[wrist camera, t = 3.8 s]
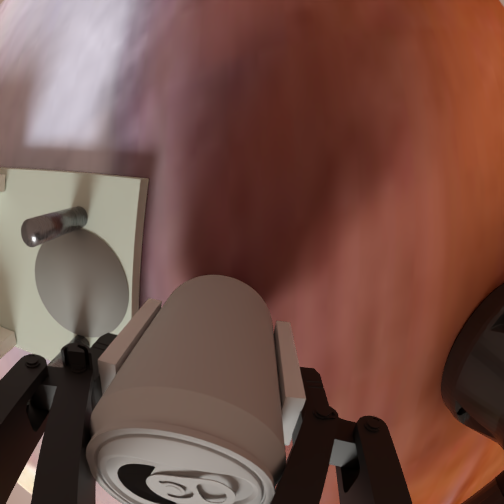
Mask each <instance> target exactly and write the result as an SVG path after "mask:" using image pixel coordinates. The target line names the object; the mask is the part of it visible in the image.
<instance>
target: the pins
mask: <svg viewBox="0 0 504 504" xmlns="http://www.w3.org/2000/svg"><path fill="white" fill-rule="evenodd" d="M87 221H88V215H87V212H86V210H85V209H84V208H83V207H81V206H76V207H72V208H68V209H64V210H60V211H56V212H52V213H48V214H44V215H40V216H37V217H33V218H29V219H26V220H25V221H24V222H23V224H22V226H21V236H22V239H23V241H24V243H25V244H26V245H27V246H29V247H35V246H38V245H40V244H43V243H45V242H48V241H50V240H53V239H55V238H58V237H60V236H63V235H65V234H68V233H70V232H73V231H76V230H78V229H81V228H83V227H84V226H85V225H86V224H87ZM70 343H81V344H85V345H87V346H88V347H89V348H90V344H89V341H88V340H87V339H86V338H85V337H84V336H80V335H76V336H75V337H74V338H73V339H72V340H71V341H70V342H69V343H68V344H70ZM47 366H52V367H63V362H62V356H61V351H60V352H59V354H58V355H57V356H56V357H55V358H54V359H53V360H52V361H51V362H50V363H49V364H48V365H47Z"/></svg>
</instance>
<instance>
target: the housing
mask: <svg viewBox="0 0 504 504" xmlns="http://www.w3.org/2000/svg"><path fill="white" fill-rule="evenodd" d="M5 177H6V174H0V192H4V191H5ZM15 345H17V343H16V338H15V333H14V332H13V331H11V330H8V329H6V328H3V327H1V326H0V359H1V358H2V357H3V356H4V355H5V354H6V353H7V352H9V351H10V350H11V349H12V348H13V347H14V346H15Z"/></svg>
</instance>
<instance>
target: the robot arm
mask: <svg viewBox="0 0 504 504" xmlns="http://www.w3.org/2000/svg"><path fill="white" fill-rule="evenodd" d="M161 303H162V301H160V300H155V299H150V298H149V299H148V300H147V301H146V302H145V303H144V305H143V306H142V307H141V308H140V309H139V310H138V312H137V313H136V314H135V315H134V316H133V317H132V319H131V320H130V321H129V322H128V323H127V325H126V326H125V327H124V328H123V329H122V331H121V332H120V333H119V334H118V335H116V334H112V333H106V334H104V335H102V336H100V337H99V338H98V340H97V341H96V342H95V343H94V344H93V345H92V347H90V348H89V347H88V346H87V345H85V344H81V343H70V344H67V345H65V346H63V347H62V349H61V356H62V362H63V367H52V366H47V363H46V360H45V358H44V357H42V356H40V355H36V354H29V355H26V356H24V357H22V358H21V359H20V360H19V361H18V362H17V363H16V364H15V365H14V366H13V367H12V368H11V369H10V370H9V372H8V373H7V374H6V375H5V376H4V377H3V378H2V379H1V380H0V504H6V502H7V500H8V498H9V496H10V494H11V491H12V490H13V488H14V486H15V484H16V482H17V480H18V478H19V476H20V474H21V473H22V471H23V469H24V467H25V465H26V463H27V462H28V460H29V458H30V456H31V454H32V453H33V451H34V449H35V447H36V445H37V444H38V442H39V440H40V439H41V437H42V435H43V433H44V436H43V440H42V445H41V449H40V454H39V459H38V464H37V469H36V475H35V481H34V487H33V494H32V501H31V504H95V483H96V480H95V478H94V477H93V475H92V473H91V471H90V467H89V464H88V461H87V458H86V448H87V445H88V444H89V442H90V440H91V436H90V418H91V414H92V412H93V410H94V408H95V406H96V405H97V403H98V402H99V400H100V399H101V397H102V396H103V394H104V392H105V391H106V389H107V388H108V386H109V385H110V383H111V382H112V380H113V379H114V377H115V376H116V374H117V373H118V371H119V370H120V368H121V367H122V365H123V364H124V362H125V361H126V359H127V358H128V356H129V355H130V353H131V352H132V350H133V349H134V347H135V346H136V344H137V343H138V341H139V340H140V338H141V337H142V335H143V334H144V333H145V331H146V330H147V328H148V327H149V325H150V324H151V322H152V321H153V319H154V318H155V317H156V315H157V314H158V312H159V311H160V309H161ZM274 343H275V353H276V362H277V372H278V382H279V392H280V402H281V412H282V422H283V433H284V443H285V445H289V444H290V441H291V439H292V440H293V446H292V449H291V451H290V454H289V456H288V459H287V461H286V466H285V469H284V471H283V474H282V476H281V478H280V480H279V482H278V484H277V486H276V489H275V494H274V496H273V498H272V500H271V502H270V504H319V502H320V499H321V495H322V491H323V487H324V483H325V479H326V475H327V471H328V467H329V464H331V465H335V466H336V473H337V482H338V490H339V499H340V504H412V501H411V498H410V494H409V491H408V488H407V484H406V481H405V478H404V475H403V472H402V468H401V465H400V462H399V459H398V456H397V453H396V450H395V447H394V444H393V441H392V438H391V436H390V433H389V430H388V427H387V425H386V424H385V422H384V421H382V420H381V419H379V418H377V417H374V416H363V417H361V418H360V419H359V420H358V421H357V423H355V422H351V421H347V420H344V419H341V418H339V417H338V413H337V412H336V411H335V410H334V409H333V408H332V407H330V406H329V404H328V401H327V397H326V394H325V390H324V388H323V384H322V380H321V377H320V374H319V373H318V372H317V371H316V370H315V369H314V368H304V367H299V362H298V357H297V352H296V348H295V343H294V338H293V334H292V329H291V324H290V322H282V321H276V325H275V330H274ZM441 393H442V398H443V401H444V403H445V405H446V406H447V407H448V409H449V410H450V411H451V413H452V414H453V416H454V417H455V418H456V419H457V420H458V421H459V422H461V423H462V424H464V425H466V426H468V427H470V428H471V429H473V430H475V431H477V432H479V433H480V434H482V435H484V436H486V437H488V438H489V439H491V440H493V441H495V442H497V443H498V444H499V445H500V446H501V447H502V448H503V450H504V284H502V285H501V286H499V287H498V288H497V289H496V290H494V291H493V292H492V293H491V294H490V295H489V296H488V297H487V298H486V299H485V300H484V301H483V302H482V303H481V304H480V306H479V307H478V308H477V309H476V310H475V312H474V313H473V314H472V316H471V317H470V318H469V320H468V321H467V323H466V324H465V326H464V327H463V329H462V331H461V332H460V334H459V336H458V338H457V339H456V341H455V343H454V345H453V347H452V349H451V352H450V354H449V356H448V359H447V362H446V364H445V368H444V371H443V376H442V382H441ZM461 504H504V471H502V472H501V473H500V474H499V475H498V476H496V477H495V478H494V479H493V480H492V481H491V482H489V483H488V484H487V485H486V486H484V487H483V488H482V489H480V490H479V491H478V492H477V493H475V494H474V495H473V496H471V497H470V498H468V499H467V500H466V501H464V502H463V503H461Z"/></svg>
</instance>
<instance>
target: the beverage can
mask: <svg viewBox="0 0 504 504" xmlns="http://www.w3.org/2000/svg"><path fill="white" fill-rule="evenodd" d="M90 436H91V440H90V442H89V444H88V445H87V448H86V458H87V461H88V464H89V467H90V471H91V473H92V475H93V477H94V478H95V480H96V481H97V482H98V483H99V484H100V486H101V487H102V488H103V489H104V490H105V491H106V492H108V493H109V494H110V495H111V496H112V497H114V498H115V499H116V500H118V501H119V502H121V503H122V504H270V502H271V500H272V498H273V496H274V494H275V486H276V484H277V483H278V482H279V480H280V478H281V476H282V474H283V471H284V469H285V466H286V454H285V443H284V433H283V422H282V412H281V402H280V392H279V382H278V372H277V362H276V353H275V343H274V334H273V325H272V318H271V314H270V311H269V309H268V307H267V305H266V303H265V302H264V300H263V299H262V298H261V296H260V295H259V294H258V293H257V292H256V291H255V290H254V289H253V288H251V287H250V286H249V285H247V284H245V283H244V282H242V281H240V280H237V279H235V278H232V277H228V276H223V275H204V276H199V277H196V278H193V279H191V280H188V281H186V282H185V283H183V284H182V285H180V286H179V287H178V288H177V289H176V290H175V291H174V292H173V293H172V294H171V295H170V297H169V298H168V299H167V301H166V302H165V304H164V305H163V307H162V308H161V309H160V311H159V312H158V314H157V315H156V317H155V318H154V319H153V321H152V322H151V324H150V325H149V327H148V328H147V330H146V331H145V333H144V334H143V335H142V337H141V338H140V340H139V341H138V343H137V344H136V346H135V347H134V349H133V350H132V352H131V353H130V355H129V356H128V358H127V359H126V361H125V362H124V364H123V365H122V367H121V368H120V370H119V371H118V373H117V374H116V376H115V377H114V379H113V380H112V382H111V383H110V385H109V386H108V388H107V389H106V391H105V392H104V394H103V396H102V397H101V399H100V400H99V402H98V403H97V405H96V406H95V408H94V410H93V412H92V414H91V418H90Z"/></svg>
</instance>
